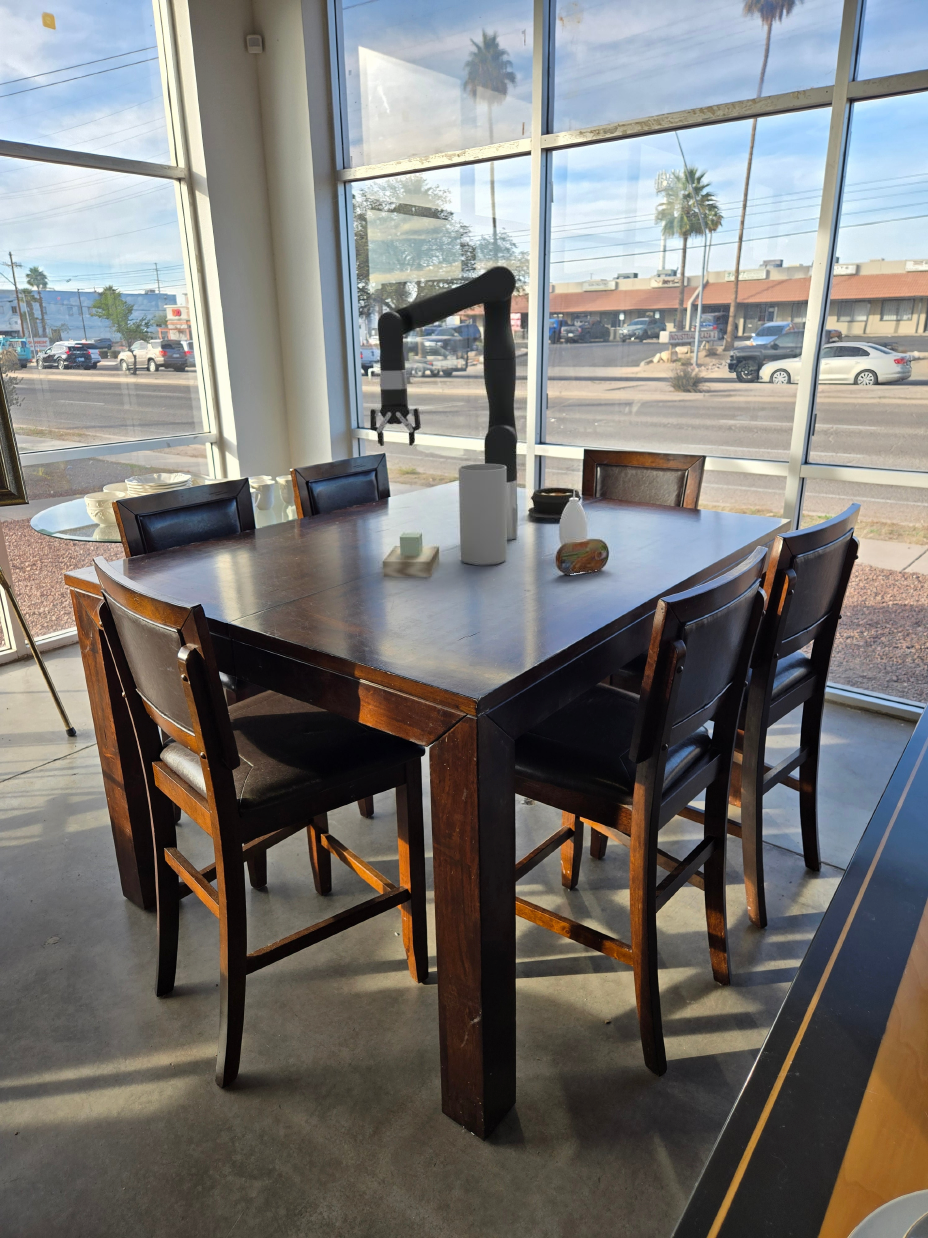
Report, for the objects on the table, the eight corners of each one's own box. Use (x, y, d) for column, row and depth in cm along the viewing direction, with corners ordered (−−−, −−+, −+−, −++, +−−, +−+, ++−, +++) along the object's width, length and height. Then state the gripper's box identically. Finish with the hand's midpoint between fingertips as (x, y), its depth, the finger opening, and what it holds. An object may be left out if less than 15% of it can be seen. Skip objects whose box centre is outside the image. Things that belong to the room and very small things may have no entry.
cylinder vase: (483, 552, 224) (482, 462, 216) (516, 559, 215) (516, 466, 207) (451, 560, 216) (448, 467, 207) (484, 568, 207) (482, 472, 199)
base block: (439, 560, 216) (438, 546, 215) (430, 576, 201) (429, 561, 200) (395, 560, 217) (395, 545, 216) (383, 576, 202) (382, 561, 201)
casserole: (568, 525, 254) (568, 499, 251) (515, 521, 262) (515, 495, 260) (594, 511, 275) (595, 486, 272) (544, 507, 283) (544, 483, 281)
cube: (422, 551, 210) (422, 532, 208) (419, 555, 205) (418, 536, 204) (404, 550, 210) (403, 532, 209) (400, 555, 206) (399, 536, 204)
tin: (560, 578, 198) (560, 545, 195) (553, 575, 200) (553, 542, 198) (609, 569, 204) (610, 537, 201) (601, 566, 207) (602, 535, 204)
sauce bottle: (586, 557, 216) (588, 491, 210) (557, 556, 217) (558, 490, 211) (587, 550, 223) (589, 486, 217) (559, 549, 225) (561, 485, 219)
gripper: (420, 386, 227) (422, 443, 233) (372, 386, 229) (375, 444, 234) (416, 387, 220) (418, 446, 226) (366, 388, 222) (369, 447, 227)
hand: (396, 445), depth 230 cm, fingers open, 8 cm apart
